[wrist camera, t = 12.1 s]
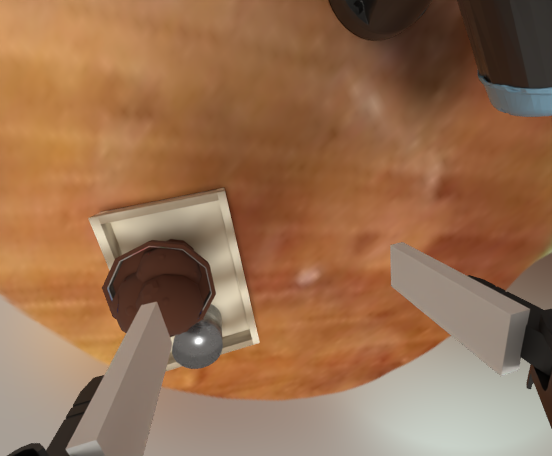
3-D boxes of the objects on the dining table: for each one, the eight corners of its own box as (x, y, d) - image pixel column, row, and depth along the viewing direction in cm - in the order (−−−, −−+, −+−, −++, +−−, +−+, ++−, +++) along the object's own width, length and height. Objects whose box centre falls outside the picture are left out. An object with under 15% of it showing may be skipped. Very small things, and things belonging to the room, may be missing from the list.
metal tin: (172, 308, 38) (165, 335, 32) (216, 297, 39) (216, 321, 33) (184, 343, 40) (179, 374, 34) (225, 331, 41) (227, 359, 35)
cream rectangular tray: (100, 211, 33) (88, 218, 30) (224, 187, 36) (225, 190, 32) (157, 357, 40) (152, 375, 37) (256, 328, 43) (259, 342, 40)
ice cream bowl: (169, 203, 34) (136, 237, 20) (231, 255, 38) (240, 316, 24) (113, 259, 34) (42, 332, 20) (180, 305, 38) (160, 394, 24)
